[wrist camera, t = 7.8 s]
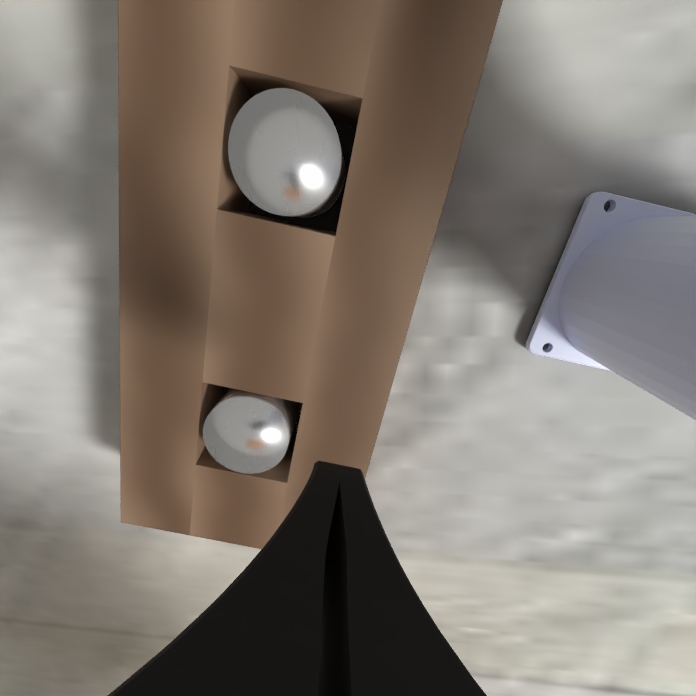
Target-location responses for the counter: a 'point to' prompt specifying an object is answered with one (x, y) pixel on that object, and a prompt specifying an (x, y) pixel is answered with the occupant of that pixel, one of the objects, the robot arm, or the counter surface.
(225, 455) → the peg
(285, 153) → the peg
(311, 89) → the wooden peg board
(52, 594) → the counter surface
